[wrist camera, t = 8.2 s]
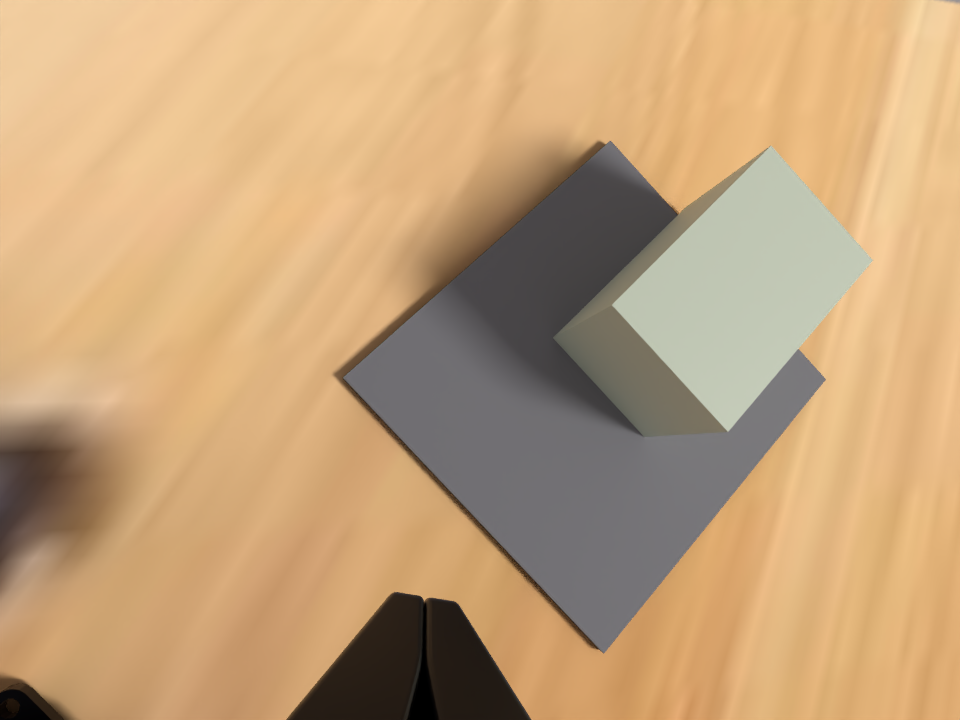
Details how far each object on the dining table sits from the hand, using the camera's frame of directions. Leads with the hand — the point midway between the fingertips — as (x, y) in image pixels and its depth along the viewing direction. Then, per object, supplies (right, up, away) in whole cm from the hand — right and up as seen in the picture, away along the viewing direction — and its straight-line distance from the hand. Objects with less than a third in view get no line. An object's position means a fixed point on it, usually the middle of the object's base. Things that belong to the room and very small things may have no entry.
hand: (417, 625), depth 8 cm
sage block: (+6, +3, +12) cm, 14 cm away
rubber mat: (+5, +3, +15) cm, 16 cm away
